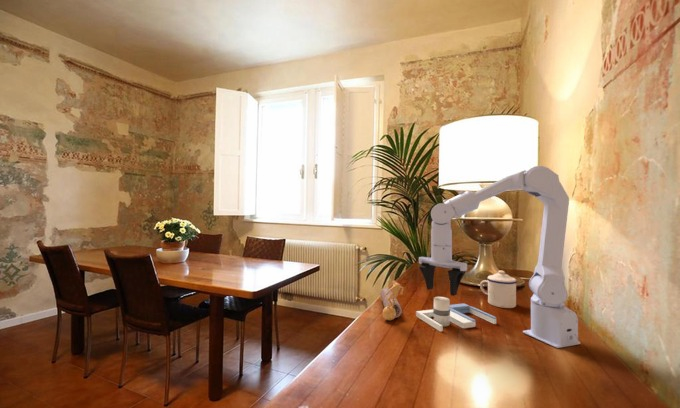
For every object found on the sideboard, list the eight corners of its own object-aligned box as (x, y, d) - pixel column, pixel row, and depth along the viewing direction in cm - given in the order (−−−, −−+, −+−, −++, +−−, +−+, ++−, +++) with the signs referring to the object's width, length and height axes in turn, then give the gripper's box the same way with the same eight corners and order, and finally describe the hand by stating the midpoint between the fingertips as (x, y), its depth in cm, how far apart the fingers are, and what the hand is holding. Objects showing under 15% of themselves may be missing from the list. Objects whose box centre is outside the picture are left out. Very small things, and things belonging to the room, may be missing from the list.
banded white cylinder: (453, 325, 84) (453, 300, 84) (439, 327, 83) (439, 302, 83) (443, 319, 88) (443, 296, 89) (430, 321, 87) (430, 297, 87)
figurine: (393, 315, 92) (393, 276, 92) (409, 320, 87) (409, 279, 88) (374, 321, 87) (374, 279, 87) (390, 327, 82) (390, 283, 82)
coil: (402, 304, 89) (393, 288, 107) (387, 302, 89) (380, 286, 107) (401, 319, 89) (392, 301, 107) (385, 317, 89) (379, 299, 107)
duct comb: (496, 323, 85) (496, 316, 85) (440, 331, 80) (440, 323, 80) (466, 309, 97) (466, 303, 97) (415, 315, 91) (415, 308, 91)
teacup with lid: (521, 305, 102) (521, 271, 102) (510, 310, 97) (509, 274, 97) (486, 296, 112) (486, 266, 112) (474, 301, 106) (474, 269, 106)
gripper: (472, 246, 83) (472, 295, 83) (428, 241, 94) (428, 284, 94) (459, 248, 78) (459, 299, 78) (414, 243, 90) (414, 288, 89)
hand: (441, 291), depth 86 cm, fingers open, 7 cm apart
